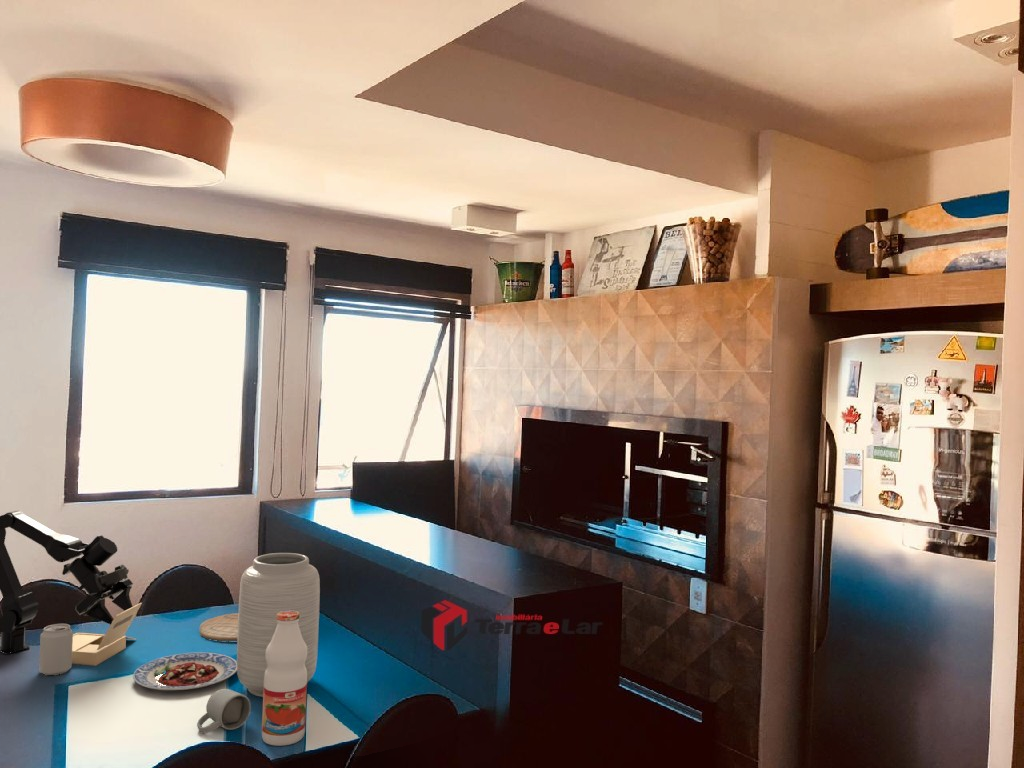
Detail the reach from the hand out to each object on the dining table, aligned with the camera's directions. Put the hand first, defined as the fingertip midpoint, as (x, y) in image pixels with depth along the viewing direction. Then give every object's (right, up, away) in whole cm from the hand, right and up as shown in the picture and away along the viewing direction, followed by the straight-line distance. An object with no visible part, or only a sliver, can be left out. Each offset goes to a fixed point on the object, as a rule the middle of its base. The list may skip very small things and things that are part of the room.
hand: (123, 618), depth 217 cm
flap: (-4, -7, 0) cm, 8 cm away
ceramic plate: (+23, -12, -12) cm, 28 cm away
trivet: (+23, -12, +28) cm, 39 cm away
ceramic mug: (+42, -13, -39) cm, 59 cm away
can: (-12, -11, -12) cm, 20 cm away
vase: (+48, -13, -16) cm, 52 cm away
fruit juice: (+58, -14, -43) cm, 74 cm away
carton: (-11, -10, +4) cm, 16 cm away
